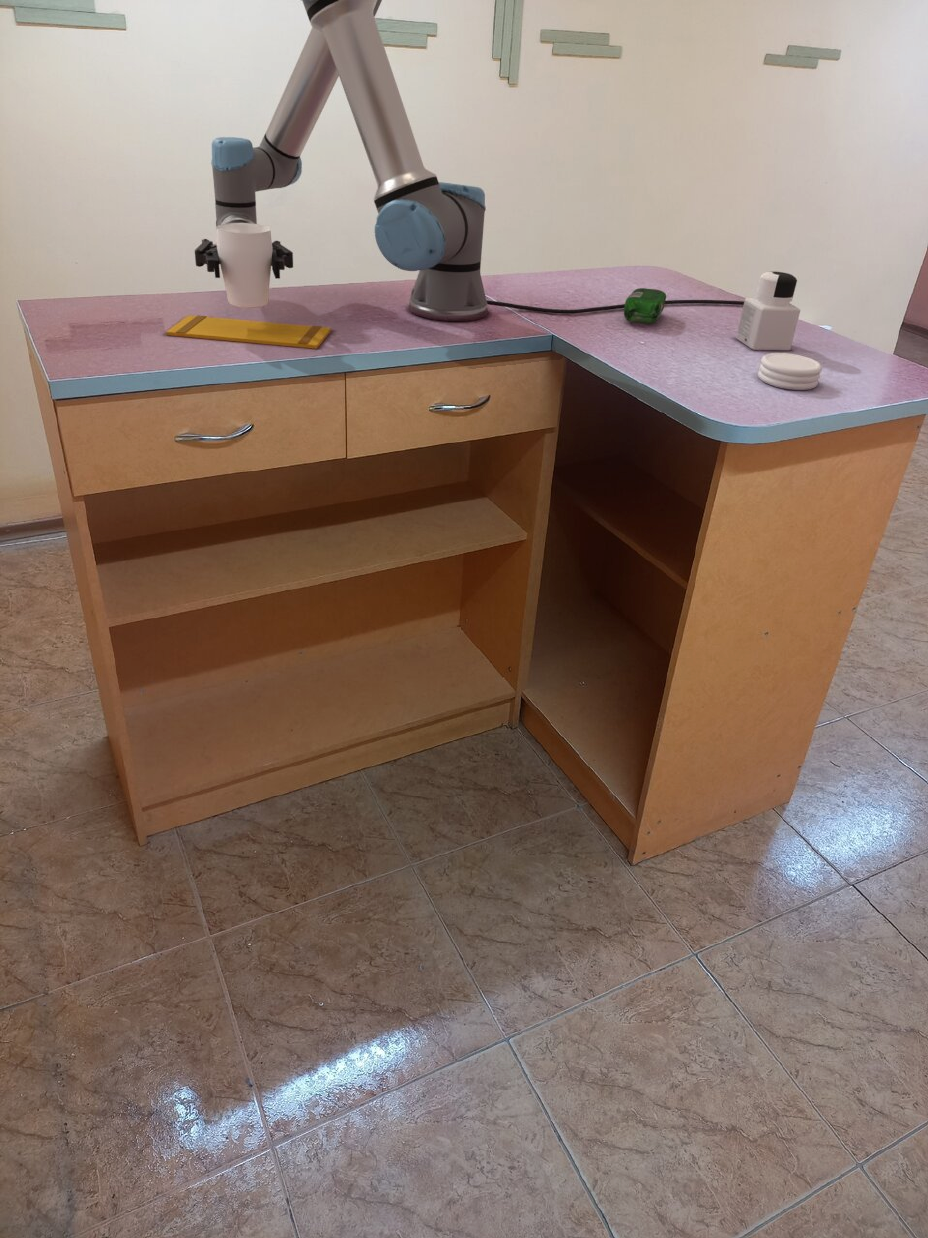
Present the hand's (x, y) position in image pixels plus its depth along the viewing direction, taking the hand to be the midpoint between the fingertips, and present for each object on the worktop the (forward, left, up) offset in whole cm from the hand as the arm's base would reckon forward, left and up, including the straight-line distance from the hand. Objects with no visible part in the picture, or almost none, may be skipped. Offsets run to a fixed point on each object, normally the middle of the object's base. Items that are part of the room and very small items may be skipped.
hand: (247, 269), depth 147 cm
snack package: (-70, -37, -12) cm, 80 cm away
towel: (+1, -4, -12) cm, 12 cm away
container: (-92, -26, -12) cm, 96 cm away
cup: (+2, -4, -7) cm, 8 cm away
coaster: (-92, -4, -12) cm, 92 cm away
